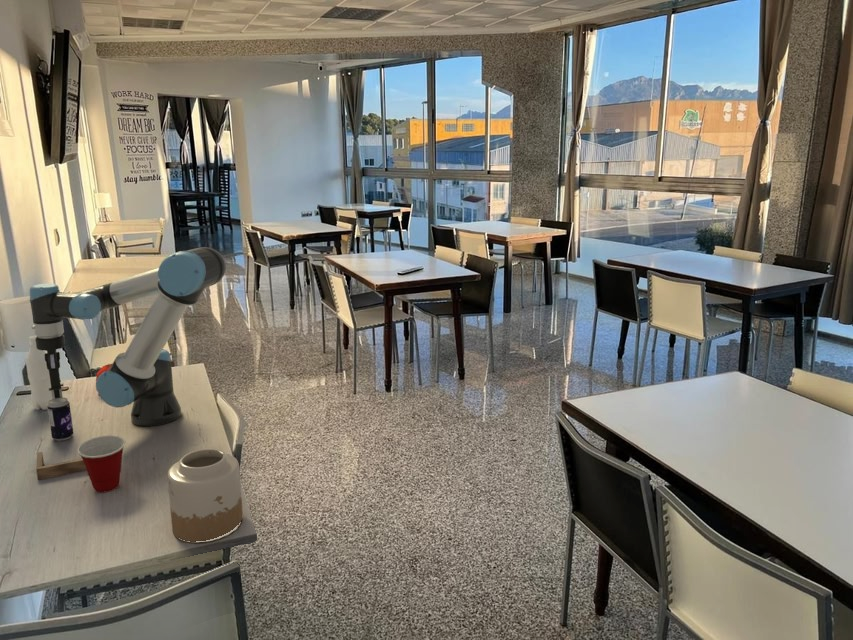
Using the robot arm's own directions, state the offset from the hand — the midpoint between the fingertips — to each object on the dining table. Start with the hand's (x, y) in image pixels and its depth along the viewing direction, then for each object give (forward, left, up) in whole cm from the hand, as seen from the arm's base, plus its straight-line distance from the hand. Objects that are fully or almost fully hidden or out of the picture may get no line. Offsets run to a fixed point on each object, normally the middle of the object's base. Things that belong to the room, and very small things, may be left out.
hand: (58, 408), depth 189 cm
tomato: (-6, -34, -7) cm, 36 cm away
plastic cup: (-25, +42, -7) cm, 49 cm away
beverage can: (-3, +8, -7) cm, 11 cm away
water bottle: (+12, -19, -7) cm, 24 cm away
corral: (-10, +27, -7) cm, 29 cm away
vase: (-53, +64, -7) cm, 83 cm away
